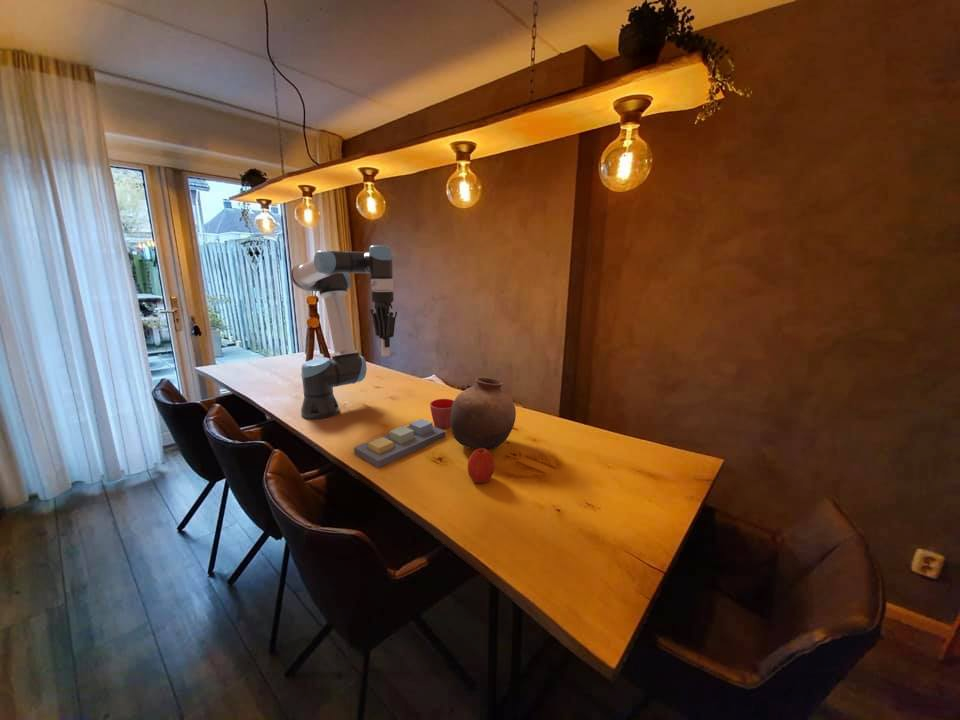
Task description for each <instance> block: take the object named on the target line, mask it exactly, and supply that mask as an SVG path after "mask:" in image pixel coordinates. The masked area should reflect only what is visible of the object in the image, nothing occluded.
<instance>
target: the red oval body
mask: <svg viewBox="0 0 960 720" xmlns="http://www.w3.org/2000/svg"><path fill="white" fill-rule="evenodd" d="M468 459H469V460H468V462H467V473H468V475H469V478H470V480H471V481H472V482H473V483H474V484H483V483H485V482H488V481H490V479H491V478H492V476H493V474H494V472H495V469H496V468H495V466H496V465H495V461H494V458H493V456H492V454H491V453H490V450H486V449H484V448H479V449H476V450H475V449H474V451H473V452H472V454H471V455H470V457H469V458H468Z"/></svg>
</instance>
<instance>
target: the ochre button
mask: <svg viewBox="0 0 960 720" xmlns="http://www.w3.org/2000/svg"><path fill="white" fill-rule="evenodd" d="M380 437H381V438H379V437H378V438H379V439H376V438H375V439H376V440H374V439H372V440H373V441H371V440H370V441H371V442H369V441H367V442H368V449H369V450H371V451H373V452H375V453H377V454H381V453H383V452H386V451H388V450H390V449H393V448H394V443H393V441H390V440H388V439H386V438H384V437H382V436H380Z"/></svg>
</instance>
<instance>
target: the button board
mask: <svg viewBox="0 0 960 720" xmlns="http://www.w3.org/2000/svg"><path fill="white" fill-rule="evenodd" d="M406 427H407V428H409V429H410V425H407V426H406ZM446 432H447V431H446V430H445V429H439V428H437V427H435V426H434V425H432V432H430V433H427V434H425V435H423V436H418V435H415V434H414V440H411V441H409V442H407V443H404V444H402V445H399V444H397V443H395V442H393V443H394V448H393V449H390V450H388V451H386V452H383V453H381V454H377V453H375V452H373V451H371V450H369V449H368V442H371V441H373V440H376V439H379V438H381V437H384V438H386V439H388V440H390V432H389V433H387V434H384V435H382V436H378V437H377V438H374V439H372V440H369V441H367V442H365V443H361V444H359V445H356V446H354V447H353V452H354V453H353V454H354V455H355V456H358V457H359V458H361V459H363V460H364V461H365V462H368V463H369V464H371V465H373V466H375V467H377V468H378V469H380V468H382V467H385V466H386V465H389V464H392V463H393V462H395V461H397V460H399V459H401V458H403V457H405V456H406V457H407V456H409V455H410V454H412V453H415V452H417V451H419V450H421V449H423V448H426V447H428V446H430V445H432V444H434V443H436V442H439V441H440V440H443V439H445V438H446V437H447V436H446V435H447V434H446ZM390 441H391V440H390Z"/></svg>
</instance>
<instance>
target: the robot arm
mask: <svg viewBox="0 0 960 720" xmlns="http://www.w3.org/2000/svg"><path fill="white" fill-rule="evenodd" d="M368 250H369V251H346V250H345V251H343V250H342V251H341V250H329V249H328V250H318V251H316V252H315V254H314V256H313V259H312V260H311V261H308V262H305V263H304V262H301V263H298V264H296V265H295V266H293V268H292V269H291V271H290V279H291V282H292V283H293V284H294V285H295V286H296V287H297V288H299V289H301V290H303V291H306V292H307V291H308V292H319V296H320V297H321V298H322V299H324V304H325V309H326V313H327V320H328V324H329V330H330V335H331V341H332V345H333V351H334V353H333V354H332V355H331V359H332V360H331V359H330V358H329V357H318V358H317V357H316V358H313V359H309V360H307V361H305V362H304V363H303V364H302V365H301V378H302V379H301V381H302V388H303V389H302V390H303V401H302V405H301V408H300V412H301V417H303V418H305V419H309V420H321V419H325V418H330V417H332V416H336V415H337V414H338V413H339V412H340V406H339V404H338V401H337V399H336V396H335V394H334V388H335V387H340V386H341V387H342V386H346V385H351V384H357V383H360V382H362V381H363V380H364V379H365V378H366V375H367V369H368V368H367V360H366V359H365V357H364V356H361V355H360V352H359V351H358V350H356V349H355V345H354V339H353V334H352V328H351V324H350V317H349V312H348V308H347V307H348V306H347V301H346V296H347V294H348V290H350V288H351V277H350V274H370V282H371V283H370V284H371V286H370V287H371V288H370V289H371V290H372V291H371V301H372V303H374V305H373V306H374V307H373V308H372V309H370V314H371V316H372V317H371V318H372V322H373V327H374V333H375V336H378V338H379V342H380V343H379V344H380V353H381V354H380V355H381V357H388V356H391V355H390V352H391V351H390V350H391V349H390V347H391V344H390V343H391V341H390V339H391V338H393V337H394V336H395V334H394V333H395V326H396V318H397V317H398V312H397V311H394V310H393V305H392V303H393V302H395V301H394V299H395V298H394V291H393V290H394V279H393V256H392V247H390V246H388V245H370V247H369V248H368Z"/></svg>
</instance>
